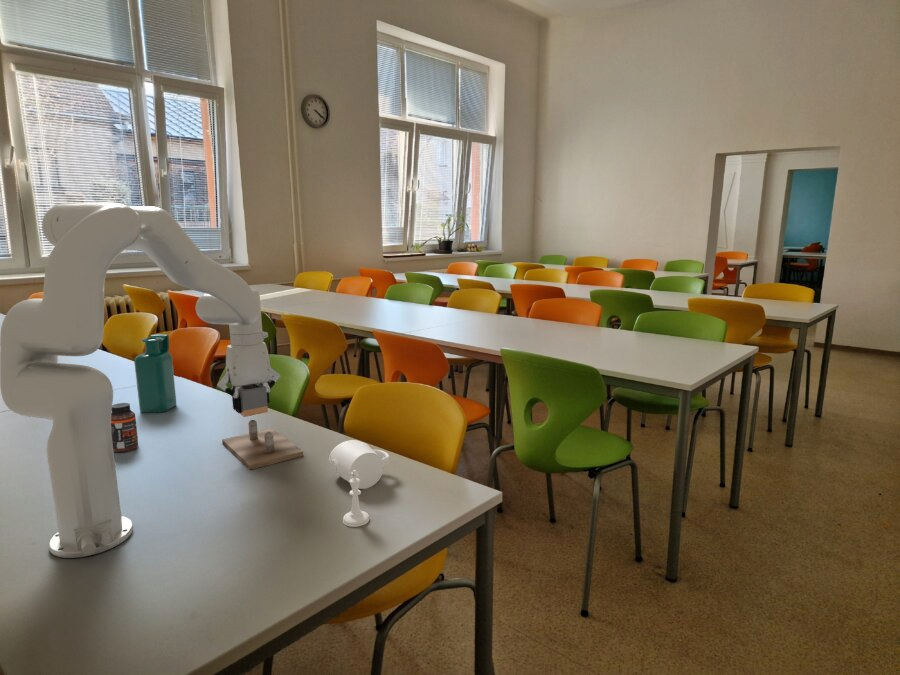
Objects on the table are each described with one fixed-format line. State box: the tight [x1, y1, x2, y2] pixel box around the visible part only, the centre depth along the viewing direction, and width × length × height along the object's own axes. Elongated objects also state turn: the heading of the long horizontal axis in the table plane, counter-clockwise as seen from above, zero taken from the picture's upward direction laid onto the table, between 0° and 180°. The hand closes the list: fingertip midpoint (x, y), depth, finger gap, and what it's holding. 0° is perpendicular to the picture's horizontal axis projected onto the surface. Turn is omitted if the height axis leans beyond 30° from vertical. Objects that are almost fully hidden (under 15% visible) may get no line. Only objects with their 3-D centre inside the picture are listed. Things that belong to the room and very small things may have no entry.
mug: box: [328, 439, 391, 490], centre depth 125 cm, size 12×9×8 cm
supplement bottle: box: [111, 402, 139, 453], centre depth 142 cm, size 6×6×11 cm
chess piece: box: [342, 470, 370, 528], centre depth 107 cm, size 5×5×10 cm
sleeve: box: [238, 383, 269, 418], centre depth 144 cm, size 6×6×6 cm
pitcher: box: [133, 333, 177, 413], centre depth 172 cm, size 10×8×22 cm
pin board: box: [221, 419, 304, 471], centre depth 141 cm, size 20×13×6 cm, turn 38°
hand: (251, 408), depth 144 cm, fingers closed on sleeve, 6 cm apart
